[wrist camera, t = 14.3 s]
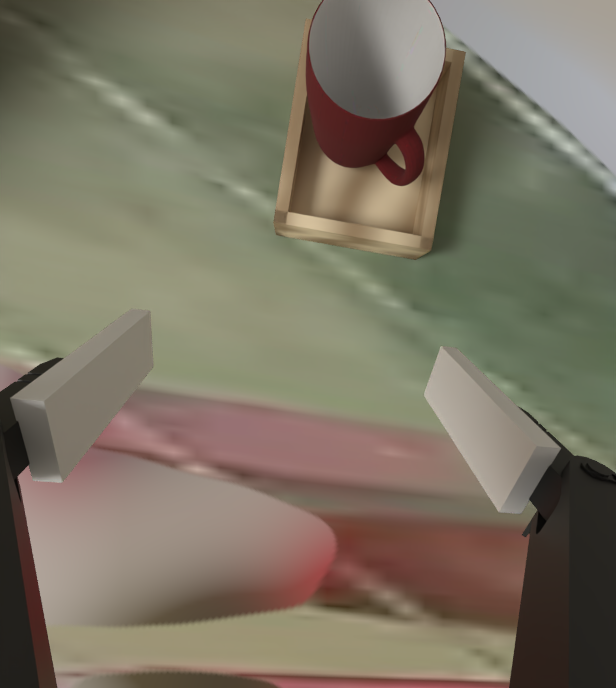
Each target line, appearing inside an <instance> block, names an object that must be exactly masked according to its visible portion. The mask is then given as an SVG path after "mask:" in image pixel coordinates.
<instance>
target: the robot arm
mask: <svg viewBox="0 0 616 688" xmlns="http://www.w3.org/2000/svg"><path fill="white" fill-rule="evenodd" d="M152 368H153V350H152V332H151V314H150V311H148V310H140V309H130V310H129V311H128V312H126V313H125V314H123V315H122V316H121V317H119V318H118V319H117V320H115V321H114V322H113V323H111V324H110V325H109V326H107V327H106V328H104V329H103V330H102V331H100V332H99V333H98V334H96V335H95V336H94V337H92V338H91V339H90V340H88V341H87V342H86V343H84V344H83V345H81V346H80V347H79V348H77V349H76V350H75V351H73V352H72V353H71V354H69V355H68V356H67V357H65V358H55V359H52V360H50V361H47V362H45V363H42V364H40V365H38V366H37V367H35V368H34V369H33V370H31V371H30V372H28V374H27V375H26V374H25V375H24V376H22V377H21V378H20V379H18V381H17V382H14V383H12V384H11V385H9V386H8V387H7V388H5V389H4V390H2V391H1V392H0V688H57V684H56V678H55V673H54V667H53V662H52V656H51V651H50V646H49V640H48V635H47V629H46V624H45V619H44V613H43V608H42V602H41V597H40V591H39V586H38V581H37V576H36V570H35V564H34V559H33V554H32V548H31V543H30V537H29V532H28V527H27V521H26V516H25V511H24V505H23V500H22V495H21V489H20V484H19V481H18V477H17V476H18V475H19V474H20V473H21V472H22V471H23V470H24V469H25V468H26V467H27V466H28V465H29V468H30V472H31V476H32V479H33V481H44V482H59V483H62V482H63V481H64V480H65V479H66V477H67V476H68V475H69V474H70V472H71V471H72V470H73V469H74V467H75V466H76V465H77V463H78V462H79V461H80V460H81V458H82V457H83V456H84V455H85V453H86V452H87V451H88V449H89V448H90V447H91V446H92V444H93V443H94V442H95V441H96V439H97V438H98V437H99V435H100V434H101V433H102V432H103V430H104V429H105V428H106V427H107V425H108V424H109V423H110V421H111V420H112V419H113V418H114V416H115V415H116V414H117V413H118V411H119V410H120V409H121V407H122V406H123V405H124V404H125V402H126V401H127V400H128V399H129V397H130V396H131V395H132V393H133V392H134V391H135V390H136V388H137V387H138V386H139V385H140V383H141V382H142V381H143V379H144V378H145V377H146V376H147V374H148V373H149V372H150V371H151V369H152ZM424 396H425V398H426V399H427V401H428V402H429V404H430V406H431V407H432V409H433V410H434V412H435V413H436V415H437V416H438V418H439V420H440V421H441V423H442V424H443V426H444V427H445V429H446V431H447V432H448V434H449V435H450V437H451V438H452V440H453V441H454V443H455V445H456V446H457V448H458V449H459V451H460V452H461V454H462V455H463V457H464V459H465V460H466V462H467V463H468V465H469V466H470V468H471V469H472V471H473V473H474V474H475V476H476V477H477V479H478V480H479V482H480V483H481V485H482V487H483V488H484V490H485V491H486V493H487V494H488V496H489V497H490V499H491V501H492V502H493V504H494V505H495V507H496V508H497V510H498V512H502V513H516V514H521V513H522V512H523V510H524V508H525V507H526V505H527V503H528V502H529V500H530V501H531V502H532V504H533V505H534V506H535V507H536V509H537V512H536V513H535V515H534V516H533V518H532V520H531V521H530V523H529V524H528V526H527V527H526V529H525V531H524V532H523V534H522V535H523V536H524V537H526V536H527V535H528V534H529V533H530V538H529V545H528V553H527V560H526V568H525V575H524V582H523V590H522V597H521V604H520V612H519V619H518V627H517V634H516V641H515V649H514V656H513V663H512V671H511V678H510V686H509V688H616V473H615V472H613V471H612V470H610V469H609V468H608V467H606V466H605V465H603V464H601V463H599V462H597V461H595V460H592V459H589V458H587V457H582V456H574V455H573V454H572V453H570V452H569V451H568V450H567V449H566V448H565V447H564V446H563V445H562V444H561V443H560V442H559V441H558V440H557V439H556V438H555V437H554V436H552V435H551V434H550V433H549V432H547V431H546V429H545V428H544V427H543V426H542V425H541V424H538V421H537V420H535V419H534V418H533V417H532V416H531V415H530V414H529V413H528V412H526V411H525V410H523V409H522V408H520V407H518V406H517V405H515V404H514V403H513V402H512V401H511V400H510V399H509V398H508V397H507V396H506V395H505V394H504V393H503V392H502V391H501V390H500V389H499V388H498V387H497V386H496V385H495V384H494V383H493V382H492V381H490V380H489V379H488V378H487V377H486V376H485V375H484V374H483V373H482V372H481V371H480V370H479V369H478V368H477V367H476V366H475V365H474V364H473V363H472V362H471V361H470V360H469V359H468V358H467V357H465V356H464V355H463V354H462V353H461V352H460V351H459V350H458V349H457V348H454V347H446V346H441V347H440V350H439V353H438V356H437V359H436V362H435V364H434V367H433V370H432V373H431V376H430V379H429V381H428V384H427V387H426V390H425V393H424Z"/></svg>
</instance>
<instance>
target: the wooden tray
mask: <svg viewBox="0 0 616 688" xmlns="http://www.w3.org/2000/svg"><path fill="white" fill-rule="evenodd" d="M311 22H312V20H311V19H306V21H305V28H304V34H303V40H302V47H301V53H300V59H299V65H298V72H297V78H296V84H295V91H294V97H293V103H292V109H291V116H290V122H289V128H288V135H287V141H286V147H285V153H284V160H283V166H282V172H281V179H280V185H279V191H278V197H277V204H276V210H275V216H274V227H275V232H276V235H279V236H284V237H290V238H296V239H301V240H307V241H313V242H318V243H324V244H330V245H335V246H341V247H346V248H352V249H358V250H363V251H369V252H375V253H380V254H386V255H391V256H397V257H403V258H408V259H414V260H416V259H418V258H419V257H421V256H423V255H424V254H426V253H428V252H429V251H431V249H432V243H433V237H434V231H435V226H436V220H437V214H438V208H439V203H440V197H441V191H442V185H443V180H444V174H445V168H446V162H447V157H448V151H449V145H450V140H451V134H452V128H453V122H454V117H455V111H456V105H457V99H458V94H459V88H460V82H461V76H462V71H463V65H464V59H465V54H466V52H464V51H459V50H454V49H449V48H446V58H445V64H444V68H443V72H442V75H441V77H440V80H439V82H438V84H437V86H436V88H435V90H434V92H433V94H432V95H431V97H430V99H429V101H428V103H427V104H426V106H425V108H424V110H423V111H422V113H421V115H420V116H419V118H418V120H417V122H416V124H415V126H414V128H415V130H416V132H417V133H418V135H419V136H420V138H421V140H422V143H423V147H424V153H425V162H424V168H423V170H422V172H421V174H420V175H419V177H418V178H417V179H416V180H415V181H413V182H412V183H410V184H409V185H406V186H397V185H394V184H392V183H391V182H390V181H388V180H387V179H386V178H385V176H384V175H383V174H382V173H381V171H380V170H379V169H378V167H377V166H376V165H375V164H371V165H368V166H364V167H359V168H347V167H343V166H340V165H338V164H336V163H334V162H333V161H332V160H330V159H329V158H328V157H327V156H326V155H325V154H324V152H323V151H322V149H321V148H320V146H319V144H318V142H317V139H316V136H315V133H314V129H313V123H312V118H311V113H310V108H309V103H308V97H307V91H306V74H305V73H306V53H307V40H308V33H309V29H310V25H311ZM387 154H388V156H389V157H390V158H391V159H392V160H393V161H394V162H395V163H396V164H398V165H399V166H400V167H402V168H403V169H405V161H404V157H403V155H402V153H401V151H400V149H399V148H398V146H397V145H396V144H394V145H393V146H392V147H391V148H390V150H389V151H388V152H387Z"/></svg>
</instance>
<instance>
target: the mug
mask: <svg viewBox="0 0 616 688" xmlns="http://www.w3.org/2000/svg"><path fill="white" fill-rule="evenodd" d="M445 58H446V39H445V33H444V28H443V25H442V22H441V19H440V17H439V15H438V13H437V11H436V9H435V7H434V6H433V4H432V3H431V2H430V0H323V1H322V2H321V3H320V5H319V6H318V8H317V10H316V12H315V14H314V16H313V19H312V22H311V25H310V29H309V33H308V40H307V53H306V73H305V74H306V91H307V97H308V103H309V108H310V113H311V118H312V123H313V129H314V133H315V136H316V139H317V142H318V144H319V146H320V148H321V149H322V151H323V152H324V154H325V155H326V156H327V157H328V158H329V159H330V160H332V161H333V162H334V163H336V164H338V165H340V166H343V167H347V168H359V167H364V166H368V165H371V164H375V165H376V166H377V167H378V169H379V170H380V171H381V173H382V174H383V175H384V176H385V178H386V179H387V180H388V181H390V182H391V183H392V184H394V185H397V186H406V185H409V184H410V183H412V182H413V181H415V180H416V179H417V178H418V177H419V175H420V174H421V172H422V170H423V168H424V162H425V153H424V147H423V143H422V140H421V138H420V136H419V135H418V133H417V132H416V130H415V128H414V126H415V124H416V122H417V120H418V118H419V116H420V115H421V113H422V111H423V110H424V108H425V106H426V104H427V103H428V101H429V99H430V97H431V95H432V94H433V92H434V90H435V88H436V86H437V84H438V82H439V80H440V77H441V75H442V72H443V68H444V64H445ZM394 144H396V145H397V146H398V148H399V149H400V151H401V153H402V155H403V157H404V161H405V169H403V168H402V167H400V166H399V165H398V164H396V163H395V162H394V161H393V160H392V159H391V158H390V157H389V156H388V154H387V152H388V151H389V150H390V148H391V147H392V146H393V145H394Z"/></svg>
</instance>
